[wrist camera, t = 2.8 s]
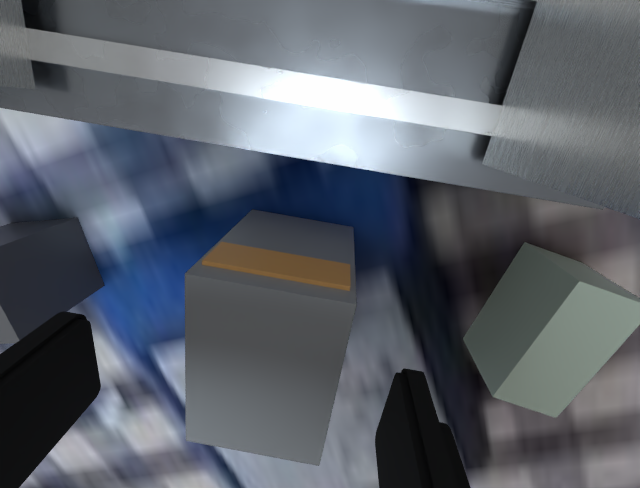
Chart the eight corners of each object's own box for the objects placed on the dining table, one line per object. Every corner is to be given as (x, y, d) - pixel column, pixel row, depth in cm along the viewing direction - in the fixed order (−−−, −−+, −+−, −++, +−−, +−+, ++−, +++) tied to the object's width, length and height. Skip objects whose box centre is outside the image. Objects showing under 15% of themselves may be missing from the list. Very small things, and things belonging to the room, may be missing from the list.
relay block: (78, 217, 17) (-27, 255, 12) (105, 285, 18) (20, 342, 13) (10, 223, 17) (-115, 262, 12) (42, 289, 19) (-61, 346, 14)
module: (354, 223, 16) (357, 299, 9) (329, 341, 18) (319, 465, 12) (252, 206, 16) (184, 269, 9) (243, 326, 18) (185, 440, 12)
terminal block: (580, 261, 15) (654, 307, 12) (512, 354, 18) (556, 418, 14) (523, 241, 15) (579, 281, 11) (462, 337, 17) (492, 396, 14)
